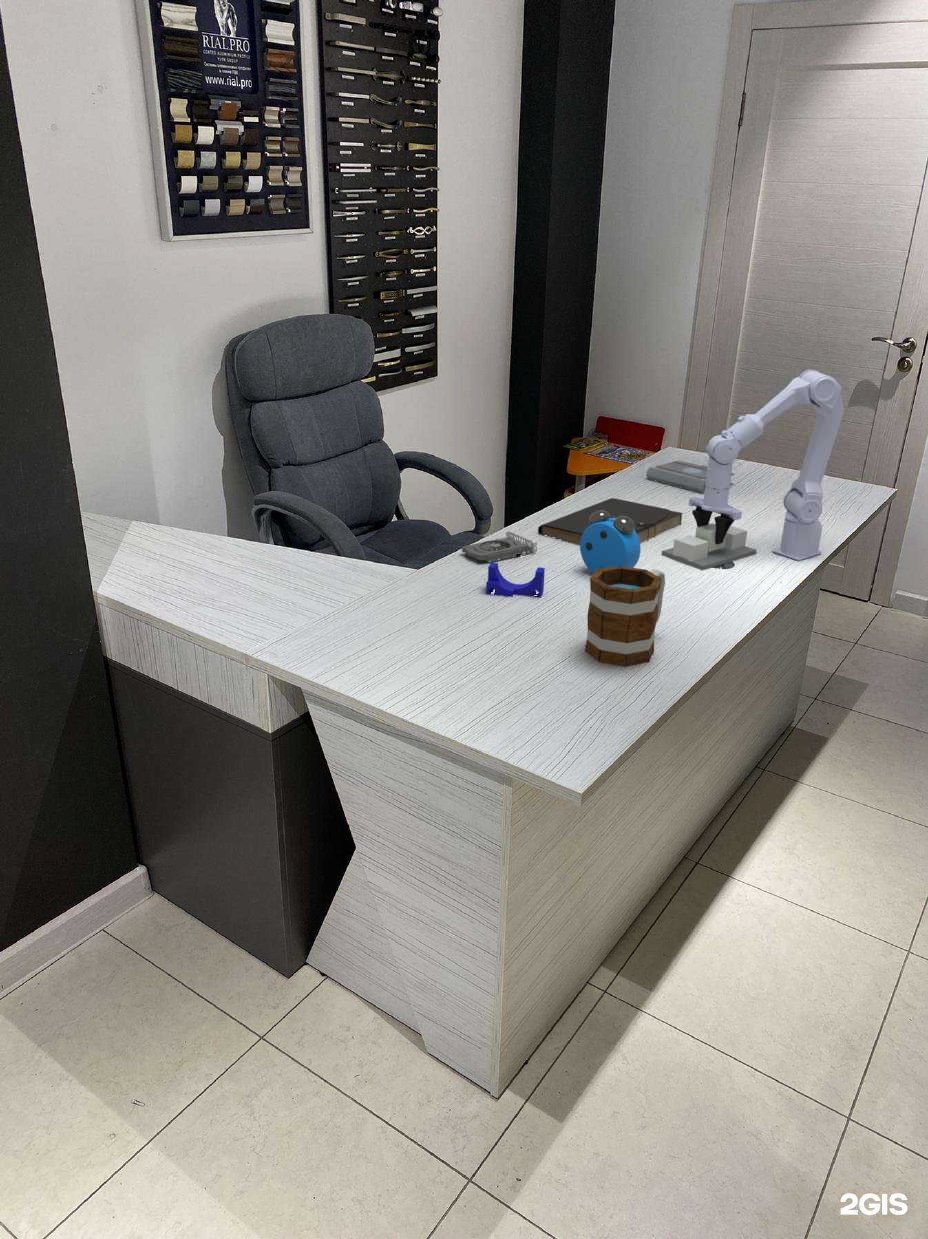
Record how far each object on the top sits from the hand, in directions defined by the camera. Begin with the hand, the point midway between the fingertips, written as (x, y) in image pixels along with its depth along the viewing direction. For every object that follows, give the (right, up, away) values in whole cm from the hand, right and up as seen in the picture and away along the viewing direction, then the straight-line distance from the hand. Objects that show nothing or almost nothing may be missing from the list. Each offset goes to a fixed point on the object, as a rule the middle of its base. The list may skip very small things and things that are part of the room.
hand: (710, 540), depth 234 cm
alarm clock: (-27, -9, -13) cm, 31 cm away
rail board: (0, -3, +1) cm, 4 cm away
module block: (0, -2, +1) cm, 2 cm away
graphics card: (-53, -4, +1) cm, 53 cm away
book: (+10, +23, +62) cm, 67 cm away
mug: (-28, -25, -48) cm, 61 cm away
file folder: (-21, +4, +19) cm, 29 cm away
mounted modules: (0, -3, +1) cm, 4 cm away
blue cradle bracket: (-49, -14, -23) cm, 56 cm away
